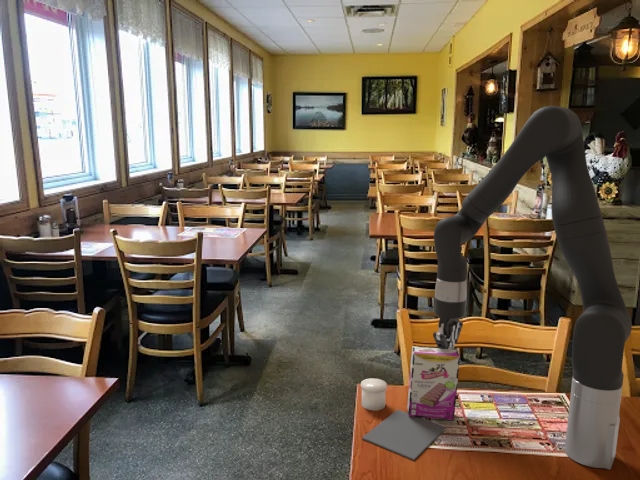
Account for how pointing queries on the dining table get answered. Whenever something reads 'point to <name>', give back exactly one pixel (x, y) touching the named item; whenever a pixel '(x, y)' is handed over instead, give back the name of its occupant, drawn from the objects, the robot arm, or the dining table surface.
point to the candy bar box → (433, 383)
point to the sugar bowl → (373, 394)
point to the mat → (404, 434)
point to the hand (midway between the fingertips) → (446, 362)
